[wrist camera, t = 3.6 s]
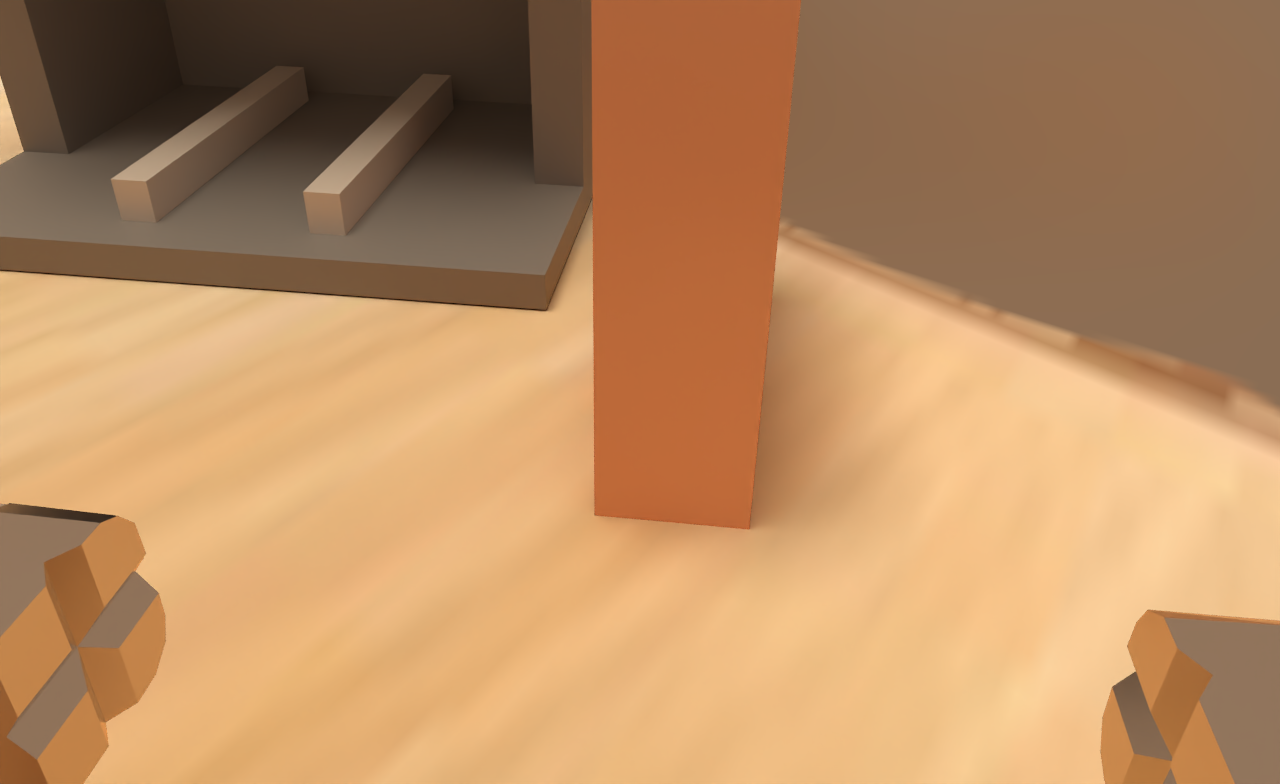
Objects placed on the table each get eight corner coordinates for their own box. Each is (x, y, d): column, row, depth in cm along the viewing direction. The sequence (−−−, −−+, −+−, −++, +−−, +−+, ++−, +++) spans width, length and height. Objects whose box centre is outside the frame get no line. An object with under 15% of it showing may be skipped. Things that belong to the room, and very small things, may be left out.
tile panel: (748, 529, 20) (802, -18, 15) (594, 515, 20) (590, -28, 15) (761, 291, 28) (797, -114, 23) (651, 284, 29) (662, -119, 23)
